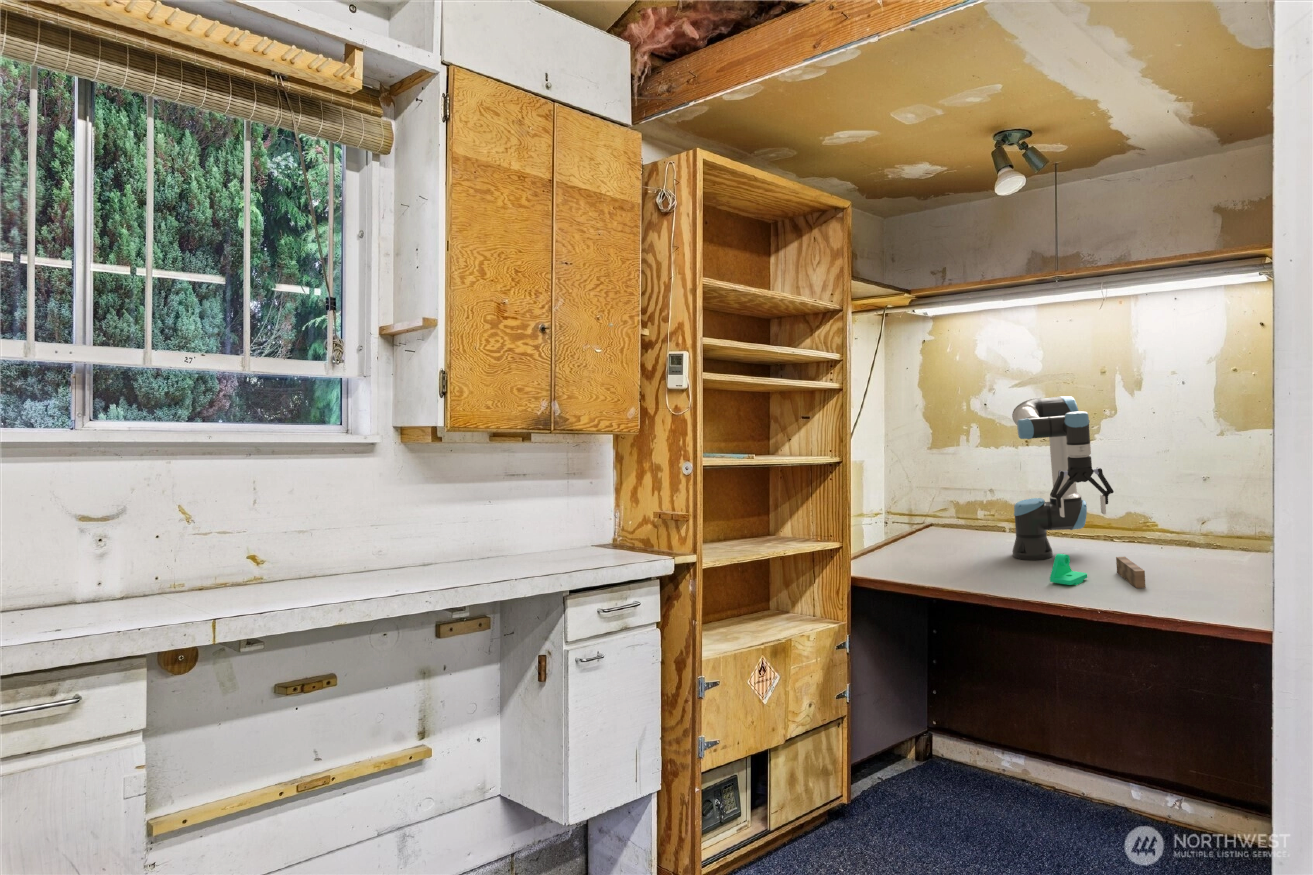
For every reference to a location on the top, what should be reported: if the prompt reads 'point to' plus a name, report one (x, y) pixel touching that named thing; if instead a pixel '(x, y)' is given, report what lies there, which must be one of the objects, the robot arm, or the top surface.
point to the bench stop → (1131, 572)
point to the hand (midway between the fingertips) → (1082, 515)
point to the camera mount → (1065, 572)
